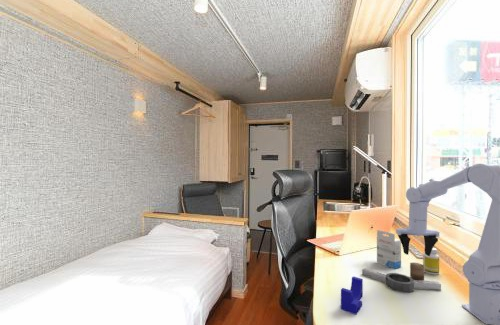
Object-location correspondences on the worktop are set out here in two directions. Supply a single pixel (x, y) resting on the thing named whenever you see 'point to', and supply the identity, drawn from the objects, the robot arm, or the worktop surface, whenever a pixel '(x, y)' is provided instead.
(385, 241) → the ink box
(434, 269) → the supplement bottle
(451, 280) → the worktop surface
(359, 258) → the worktop surface
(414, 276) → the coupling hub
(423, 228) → the robot arm
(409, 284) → the coupling collar
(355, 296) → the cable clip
